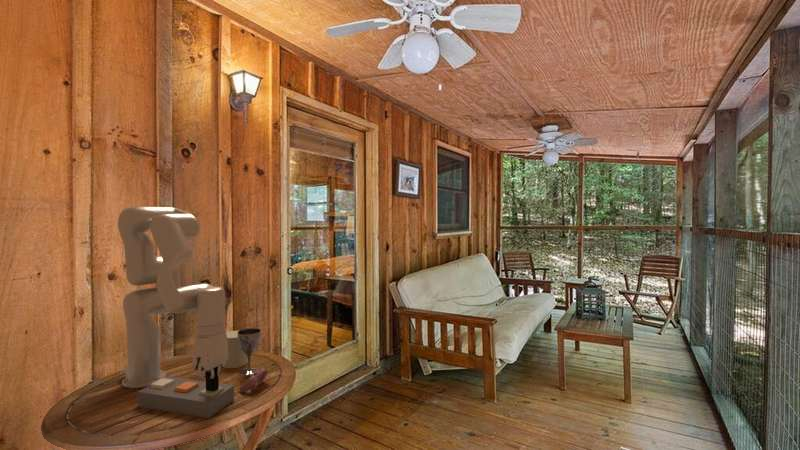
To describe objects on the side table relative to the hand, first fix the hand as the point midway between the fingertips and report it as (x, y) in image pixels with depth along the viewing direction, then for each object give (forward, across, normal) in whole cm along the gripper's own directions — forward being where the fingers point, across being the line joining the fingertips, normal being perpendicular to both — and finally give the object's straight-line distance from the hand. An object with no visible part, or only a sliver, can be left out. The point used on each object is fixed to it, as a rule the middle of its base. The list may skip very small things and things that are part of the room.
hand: (212, 389), depth 115 cm
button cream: (+3, 0, -18) cm, 18 cm away
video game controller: (+6, -15, +4) cm, 17 cm away
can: (+5, -30, -15) cm, 34 cm away
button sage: (+3, 0, 0) cm, 3 cm away
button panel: (+5, 0, -9) cm, 11 cm away
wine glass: (+5, -25, -5) cm, 26 cm away
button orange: (+3, 0, -9) cm, 10 cm away
